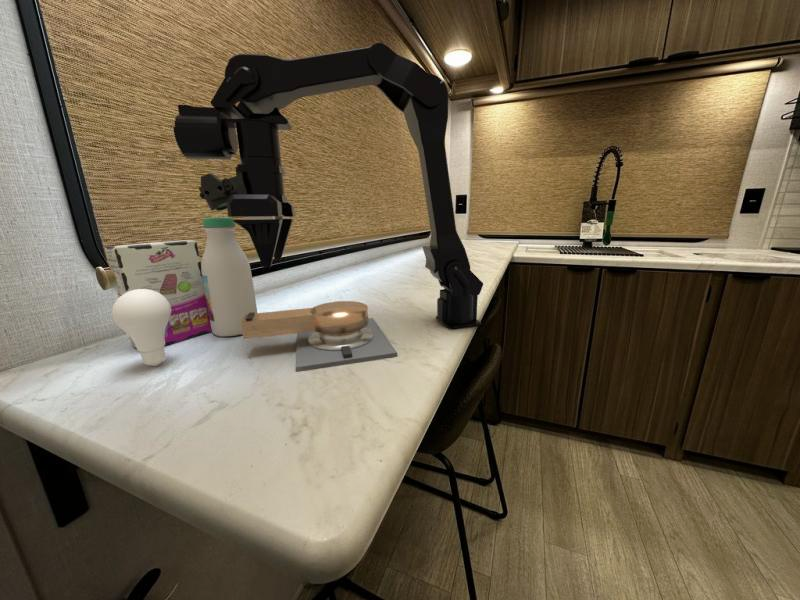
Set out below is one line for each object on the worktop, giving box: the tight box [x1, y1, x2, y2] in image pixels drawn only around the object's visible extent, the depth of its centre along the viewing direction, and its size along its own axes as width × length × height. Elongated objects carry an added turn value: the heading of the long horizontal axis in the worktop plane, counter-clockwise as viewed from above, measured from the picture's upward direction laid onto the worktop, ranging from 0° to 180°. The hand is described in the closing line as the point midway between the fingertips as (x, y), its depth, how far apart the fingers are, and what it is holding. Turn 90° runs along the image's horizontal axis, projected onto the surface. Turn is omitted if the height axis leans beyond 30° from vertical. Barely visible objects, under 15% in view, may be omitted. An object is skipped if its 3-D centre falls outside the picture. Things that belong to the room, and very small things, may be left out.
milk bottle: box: [201, 217, 258, 337], centre depth 55 cm, size 8×8×20 cm
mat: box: [295, 317, 398, 372], centre depth 51 cm, size 14×17×1 cm
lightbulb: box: [111, 289, 171, 367], centre depth 43 cm, size 6×6×11 cm
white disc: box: [308, 327, 373, 351], centre depth 51 cm, size 10×10×2 cm
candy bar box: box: [103, 239, 212, 348], centre depth 52 cm, size 11×5×16 cm, turn 148°
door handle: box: [241, 300, 369, 340], centre depth 49 cm, size 18×9×3 cm, turn 107°
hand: (272, 262), depth 51 cm, fingers open, 9 cm apart
